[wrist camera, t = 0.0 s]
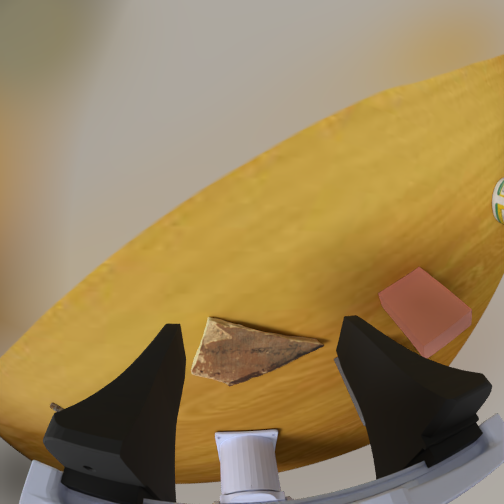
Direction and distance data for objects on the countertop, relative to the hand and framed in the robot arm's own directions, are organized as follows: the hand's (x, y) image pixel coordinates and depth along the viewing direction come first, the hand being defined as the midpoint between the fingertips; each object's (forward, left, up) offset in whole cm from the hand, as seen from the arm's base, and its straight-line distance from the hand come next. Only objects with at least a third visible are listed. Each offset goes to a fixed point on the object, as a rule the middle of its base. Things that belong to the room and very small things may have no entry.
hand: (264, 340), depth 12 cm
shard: (-8, 0, -11) cm, 14 cm away
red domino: (-4, -15, -10) cm, 18 cm away
